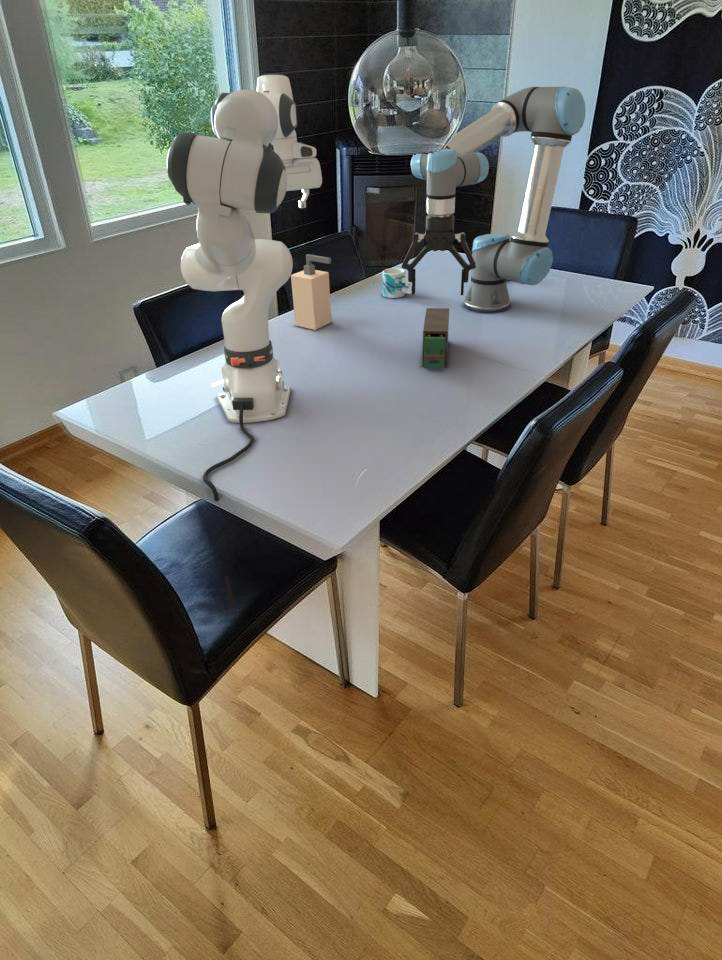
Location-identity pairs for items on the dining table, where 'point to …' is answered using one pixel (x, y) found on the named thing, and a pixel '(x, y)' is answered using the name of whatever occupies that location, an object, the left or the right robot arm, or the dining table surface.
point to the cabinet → (436, 326)
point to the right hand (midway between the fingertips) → (437, 293)
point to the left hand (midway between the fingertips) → (285, 209)
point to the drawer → (434, 351)
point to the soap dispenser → (311, 295)
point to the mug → (395, 283)
